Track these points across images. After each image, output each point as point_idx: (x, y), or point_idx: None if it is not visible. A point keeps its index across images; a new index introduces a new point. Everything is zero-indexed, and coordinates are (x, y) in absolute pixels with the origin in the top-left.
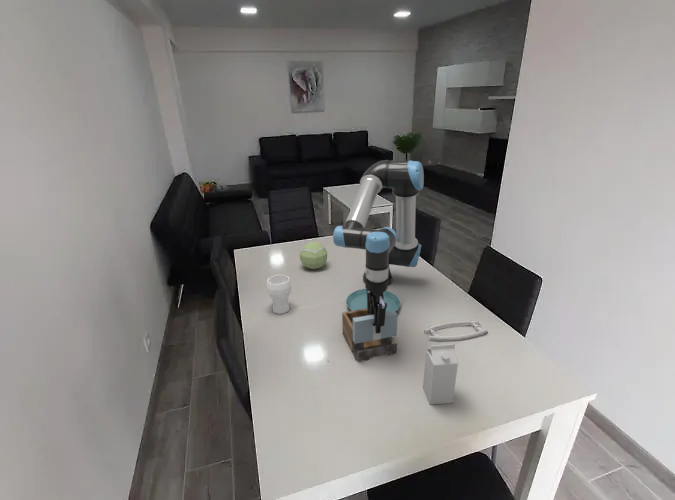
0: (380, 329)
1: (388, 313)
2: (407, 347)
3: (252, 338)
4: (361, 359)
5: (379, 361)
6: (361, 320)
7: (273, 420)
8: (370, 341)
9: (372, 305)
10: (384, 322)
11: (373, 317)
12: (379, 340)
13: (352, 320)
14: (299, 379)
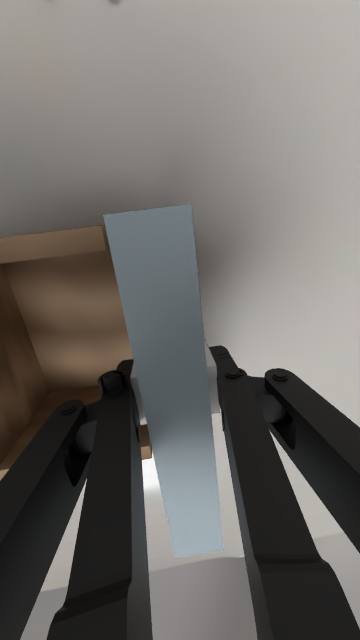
0: (232, 359)
1: (152, 308)
2: (154, 164)
3: (63, 581)
4: None
5: (213, 305)
6: (218, 519)
7: (318, 521)
8: (112, 318)
9: (146, 575)
10: (312, 390)
11: (196, 446)
12: (109, 282)
13: (12, 406)
14: (230, 493)
